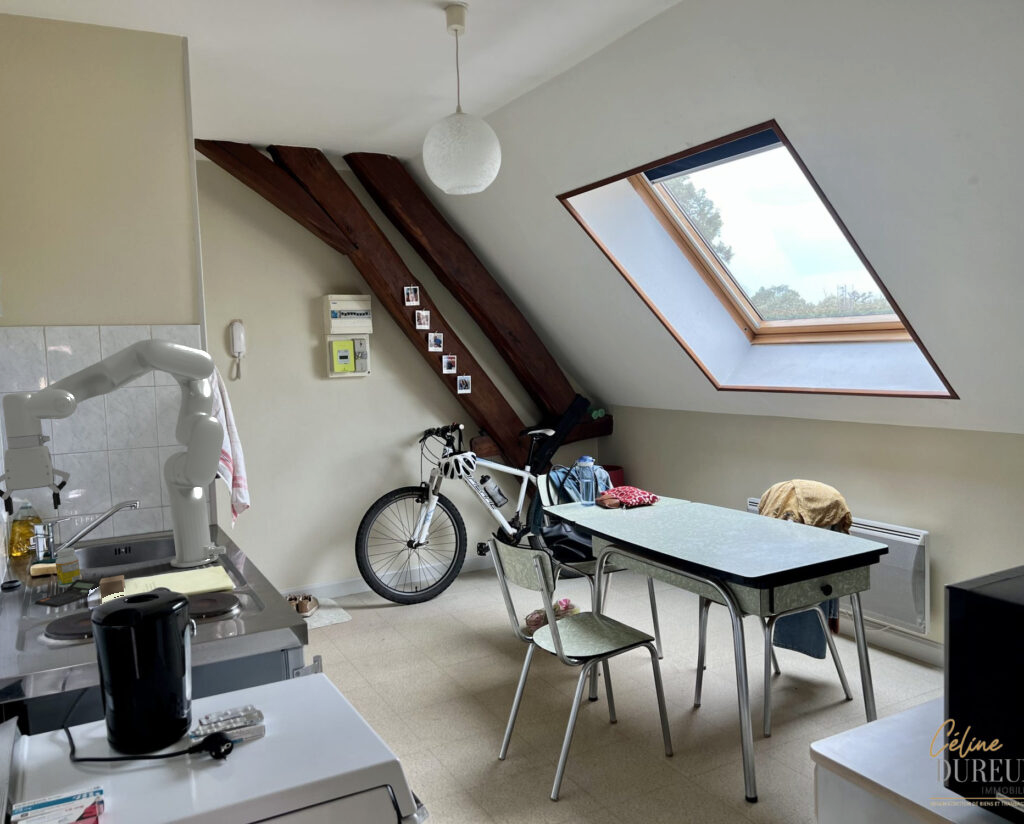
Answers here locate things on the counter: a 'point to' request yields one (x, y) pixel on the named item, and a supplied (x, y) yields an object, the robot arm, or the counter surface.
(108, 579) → the walnut block
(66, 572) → the supplement bottle
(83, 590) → the calculator
